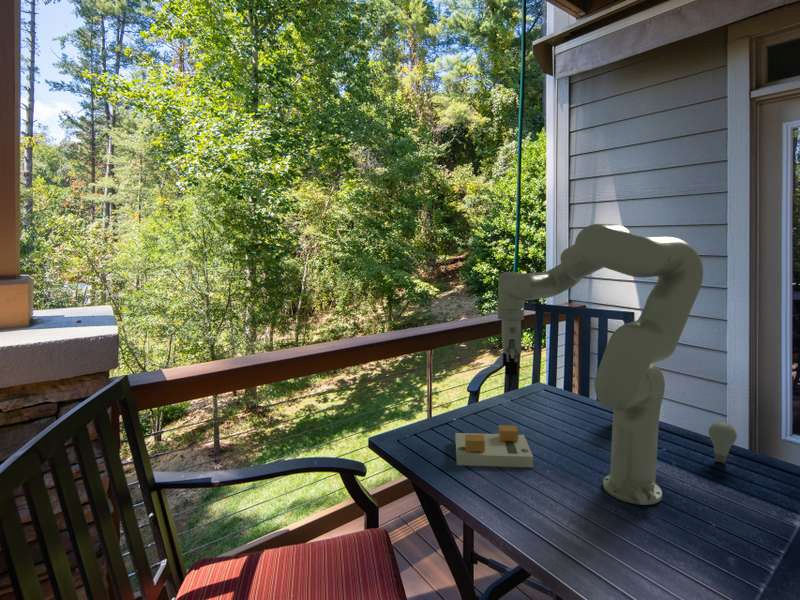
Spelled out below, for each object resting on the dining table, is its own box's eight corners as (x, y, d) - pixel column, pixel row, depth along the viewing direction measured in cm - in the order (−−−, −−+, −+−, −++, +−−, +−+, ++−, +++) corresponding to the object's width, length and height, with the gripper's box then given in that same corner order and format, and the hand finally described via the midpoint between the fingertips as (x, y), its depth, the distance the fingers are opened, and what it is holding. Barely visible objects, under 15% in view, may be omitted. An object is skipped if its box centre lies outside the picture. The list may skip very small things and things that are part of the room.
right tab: (518, 441, 128) (518, 431, 128) (500, 441, 128) (500, 430, 128) (515, 435, 132) (516, 425, 132) (498, 435, 132) (498, 425, 132)
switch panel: (533, 467, 120) (533, 456, 119) (456, 465, 122) (456, 454, 121) (523, 444, 134) (523, 434, 133) (455, 442, 135) (455, 432, 135)
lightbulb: (722, 469, 117) (725, 428, 116) (700, 459, 123) (703, 420, 122) (740, 466, 119) (743, 426, 118) (718, 455, 125) (721, 417, 123)
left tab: (484, 451, 122) (484, 441, 122) (465, 451, 122) (465, 440, 122) (483, 445, 126) (483, 434, 126) (465, 444, 126) (465, 434, 126)
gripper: (527, 319, 125) (526, 379, 127) (520, 309, 142) (519, 362, 144) (499, 318, 126) (498, 378, 128) (496, 309, 143) (495, 362, 145)
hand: (509, 370), depth 136 cm, fingers open, 9 cm apart
